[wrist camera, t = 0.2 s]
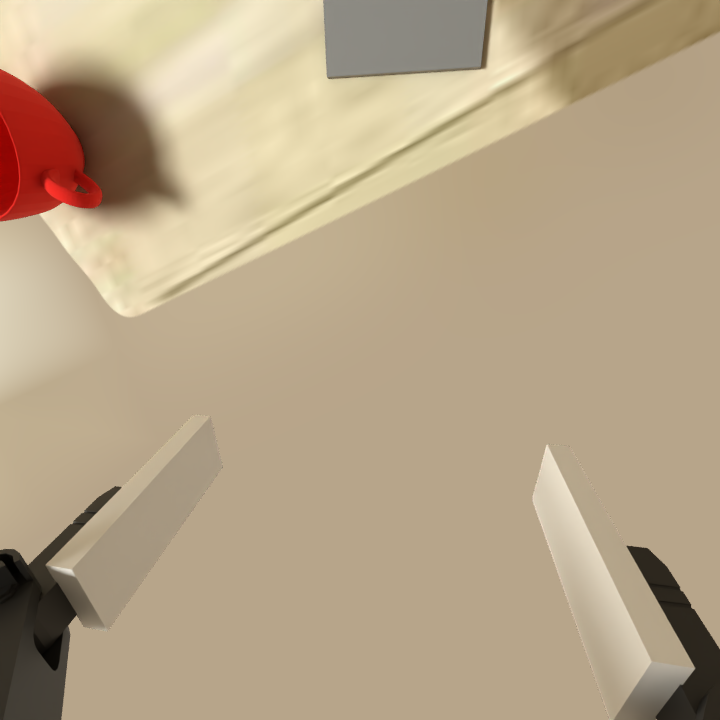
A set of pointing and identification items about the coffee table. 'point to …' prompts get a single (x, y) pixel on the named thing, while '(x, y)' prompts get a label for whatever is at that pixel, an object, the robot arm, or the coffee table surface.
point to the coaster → (402, 36)
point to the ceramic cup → (38, 155)
